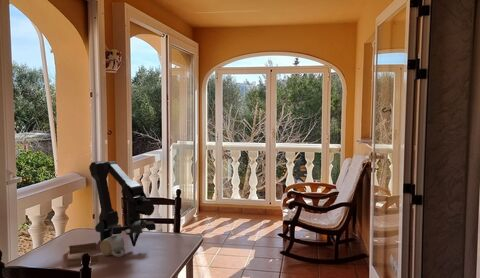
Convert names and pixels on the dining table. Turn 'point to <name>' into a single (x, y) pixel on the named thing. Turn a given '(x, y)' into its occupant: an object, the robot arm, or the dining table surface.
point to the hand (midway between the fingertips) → (133, 246)
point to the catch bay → (81, 248)
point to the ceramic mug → (112, 246)
